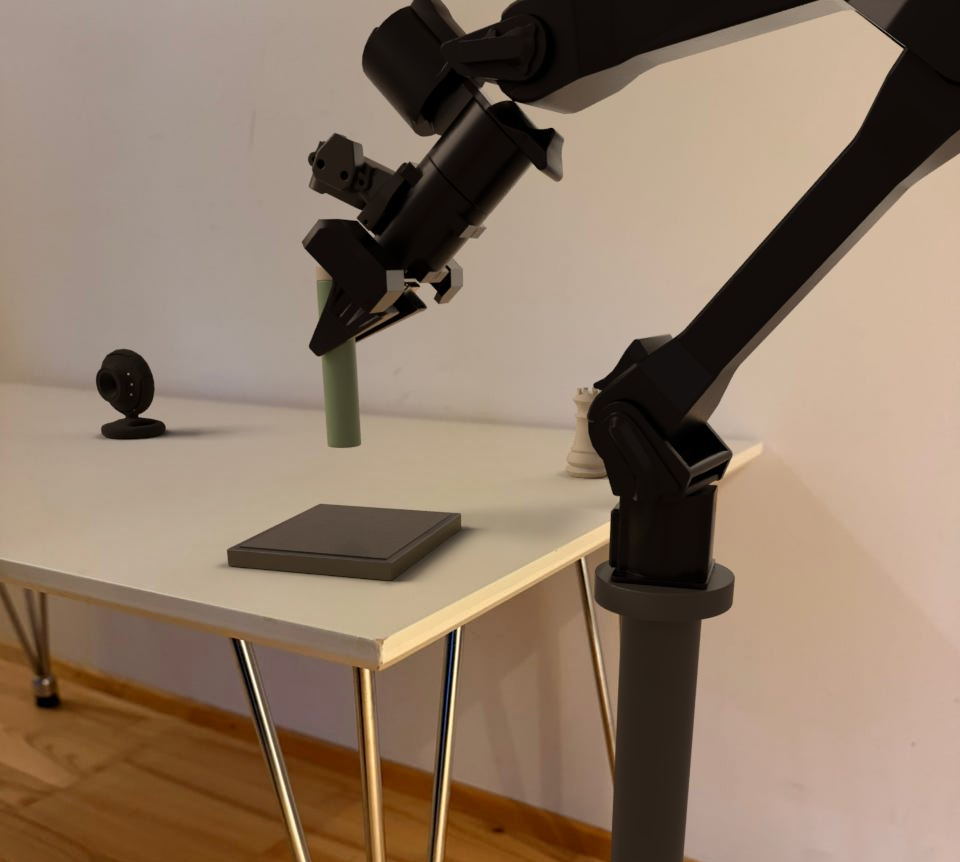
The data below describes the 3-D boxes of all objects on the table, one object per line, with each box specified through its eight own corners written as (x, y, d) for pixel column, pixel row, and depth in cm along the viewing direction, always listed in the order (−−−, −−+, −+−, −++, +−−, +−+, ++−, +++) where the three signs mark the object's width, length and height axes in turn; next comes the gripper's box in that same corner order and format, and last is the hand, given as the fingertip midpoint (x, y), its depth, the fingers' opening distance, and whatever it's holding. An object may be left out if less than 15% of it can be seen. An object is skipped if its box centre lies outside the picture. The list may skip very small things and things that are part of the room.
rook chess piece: (605, 468, 97) (608, 385, 94) (616, 477, 93) (619, 391, 90) (560, 470, 96) (562, 386, 94) (569, 479, 92) (571, 392, 89)
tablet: (461, 528, 76) (461, 512, 75) (391, 581, 63) (390, 562, 63) (320, 518, 79) (319, 502, 79) (228, 566, 67) (226, 548, 66)
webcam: (87, 436, 118) (74, 350, 115) (135, 427, 124) (124, 345, 121) (132, 441, 115) (120, 352, 111) (180, 432, 121) (170, 347, 117)
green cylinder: (357, 441, 78) (347, 265, 73) (364, 446, 75) (354, 265, 71) (324, 443, 77) (312, 266, 72) (330, 449, 75) (318, 265, 70)
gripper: (419, 113, 75) (298, 269, 82) (321, 70, 58) (178, 272, 65) (520, 222, 76) (392, 368, 83) (451, 211, 59) (297, 395, 66)
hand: (321, 350), depth 74 cm, fingers closed on green cylinder, 2 cm apart
